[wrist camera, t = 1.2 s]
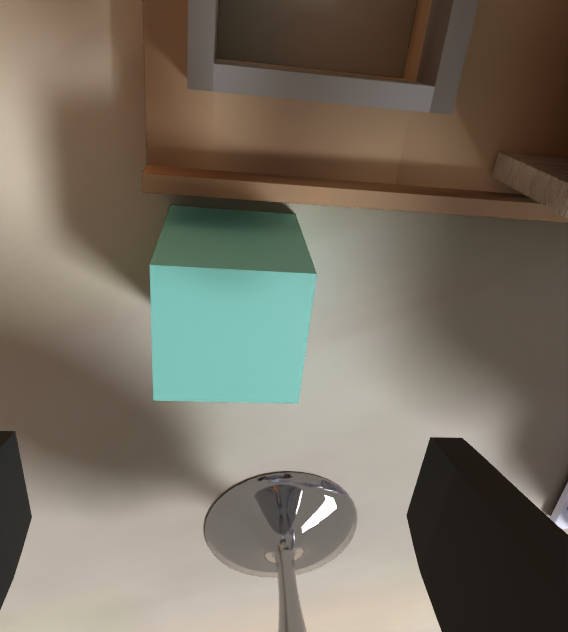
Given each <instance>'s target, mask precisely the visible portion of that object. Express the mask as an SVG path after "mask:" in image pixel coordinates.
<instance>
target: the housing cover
mask: <svg viewBox="0 0 568 632" xmlns="http://www.w3.org/2000/svg"><path fill="white" fill-rule="evenodd" d="M492 177H494V178H495V179H497V180H499V181H501V182H503V183H504V184H506V185H508V186H510V187H512V188H513V189H515V190H517V191H519V192H521V193H522V194H524V195H526V196H528V197H530V198H531V199H533V200H535V201H537V202H539V203H540V204H542V205H544V206H546V207H548V208H549V209H551V210H553V211H555V212H557V213H558V214H560V215H562V216H564V217H566V218H567V219H568V158H559V157H548V156H537V155H526V154H514V153H503V152H499V153H498V156H497V160H496V163H495V166H494V170H493V173H492Z"/></svg>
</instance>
